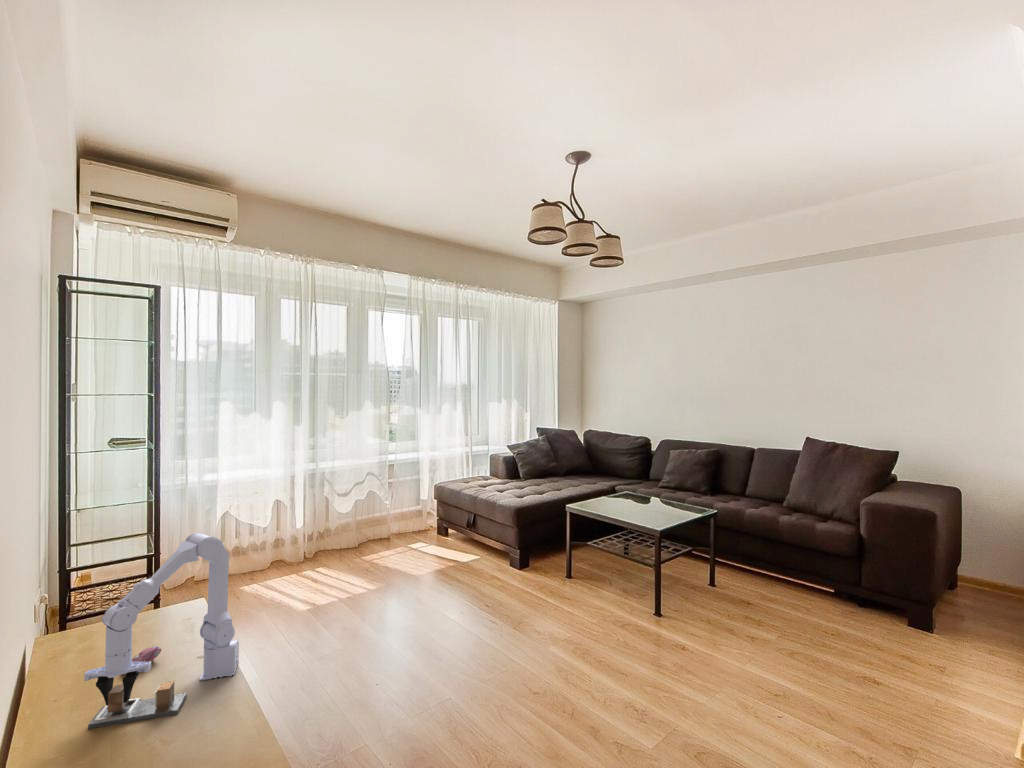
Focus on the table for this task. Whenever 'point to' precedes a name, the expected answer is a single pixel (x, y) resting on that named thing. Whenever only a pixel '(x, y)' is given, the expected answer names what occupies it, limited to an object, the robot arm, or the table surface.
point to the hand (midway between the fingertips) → (118, 701)
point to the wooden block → (116, 699)
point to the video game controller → (147, 654)
